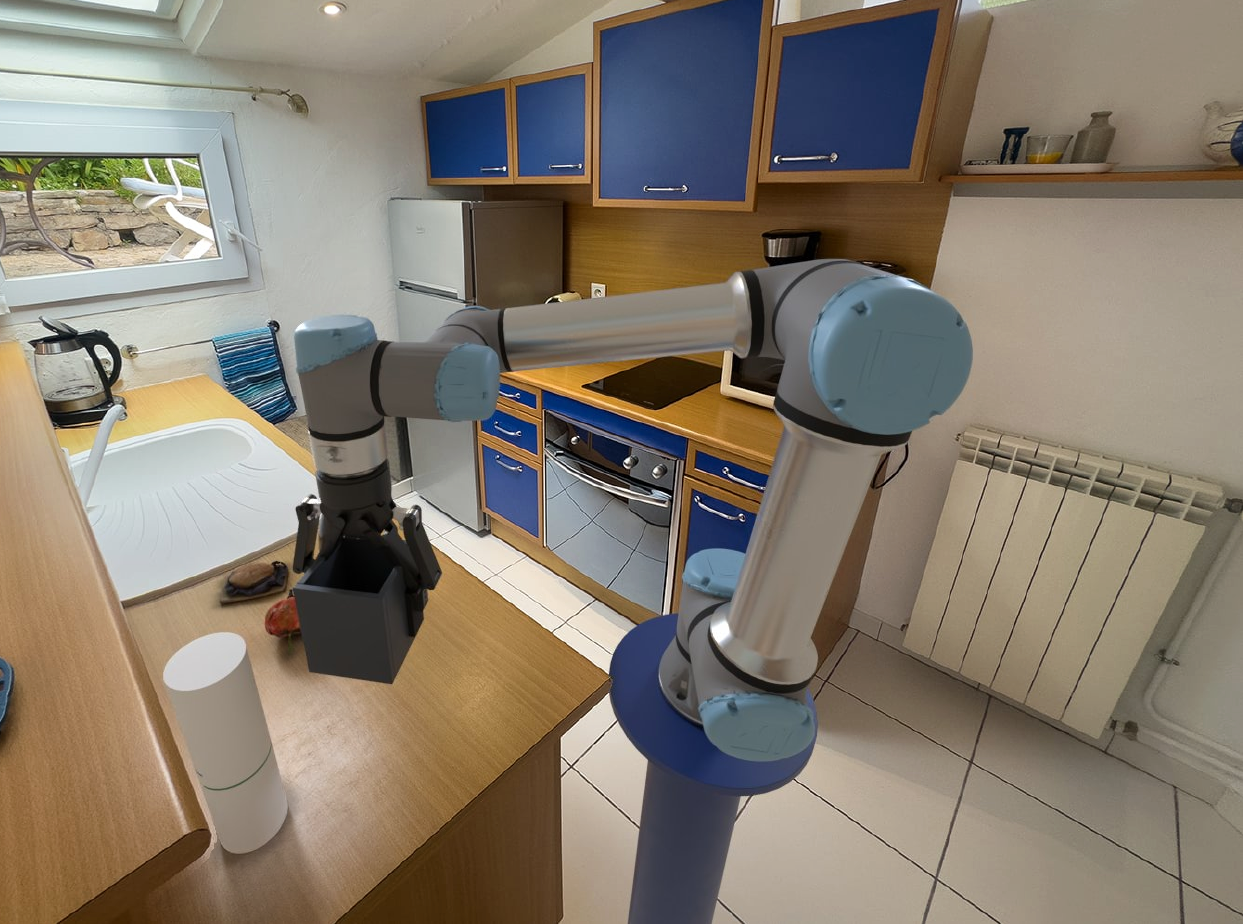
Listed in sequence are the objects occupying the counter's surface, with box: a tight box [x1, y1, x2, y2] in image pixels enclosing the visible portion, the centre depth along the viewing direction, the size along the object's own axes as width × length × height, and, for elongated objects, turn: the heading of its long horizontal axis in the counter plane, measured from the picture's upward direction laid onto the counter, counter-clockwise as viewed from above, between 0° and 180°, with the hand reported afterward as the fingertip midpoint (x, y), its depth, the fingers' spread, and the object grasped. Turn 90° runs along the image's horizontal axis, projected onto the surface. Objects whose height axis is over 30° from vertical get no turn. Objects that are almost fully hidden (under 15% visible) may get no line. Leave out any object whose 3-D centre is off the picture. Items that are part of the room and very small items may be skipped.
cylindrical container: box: [162, 631, 289, 855], centre depth 60 cm, size 7×7×25 cm
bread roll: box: [218, 560, 288, 604], centre depth 100 cm, size 11×8×4 cm
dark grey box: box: [292, 536, 425, 685], centre depth 64 cm, size 10×12×10 cm
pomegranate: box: [264, 588, 301, 656], centre depth 88 cm, size 7×7×10 cm
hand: (374, 622), depth 68 cm, fingers closed on dark grey box, 10 cm apart
